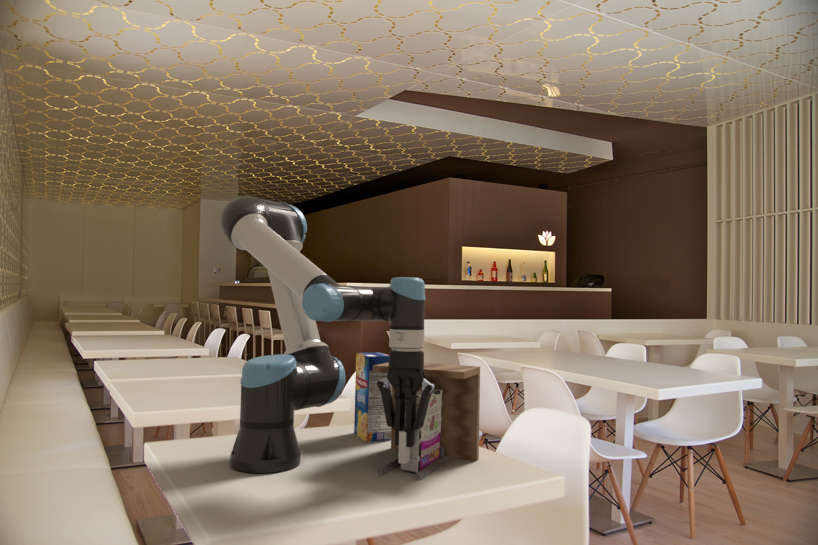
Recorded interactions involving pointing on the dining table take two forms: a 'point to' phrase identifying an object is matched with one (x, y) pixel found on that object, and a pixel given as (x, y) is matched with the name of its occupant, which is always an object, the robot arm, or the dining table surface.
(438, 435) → the candy bar box
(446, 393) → the overhang shelf
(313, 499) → the dining table surface
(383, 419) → the blue cardboard box
